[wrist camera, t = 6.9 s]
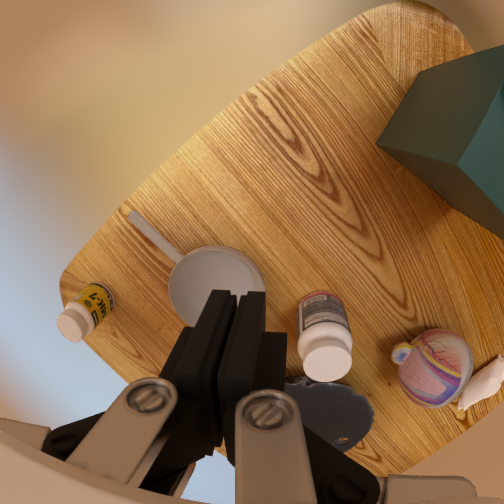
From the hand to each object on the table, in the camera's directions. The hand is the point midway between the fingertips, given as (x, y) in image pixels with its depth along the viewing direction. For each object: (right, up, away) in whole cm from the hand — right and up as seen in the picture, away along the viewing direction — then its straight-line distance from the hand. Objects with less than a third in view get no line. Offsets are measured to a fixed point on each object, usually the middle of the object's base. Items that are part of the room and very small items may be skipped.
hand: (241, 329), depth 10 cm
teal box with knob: (+20, +14, +18) cm, 31 cm away
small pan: (-6, +2, +26) cm, 27 cm away
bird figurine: (+37, -17, +29) cm, 50 cm away
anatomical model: (+24, -10, +28) cm, 38 cm away
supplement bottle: (-20, -3, +30) cm, 37 cm away
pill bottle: (+9, -4, +27) cm, 29 cm away
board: (+7, -21, +34) cm, 41 cm away
